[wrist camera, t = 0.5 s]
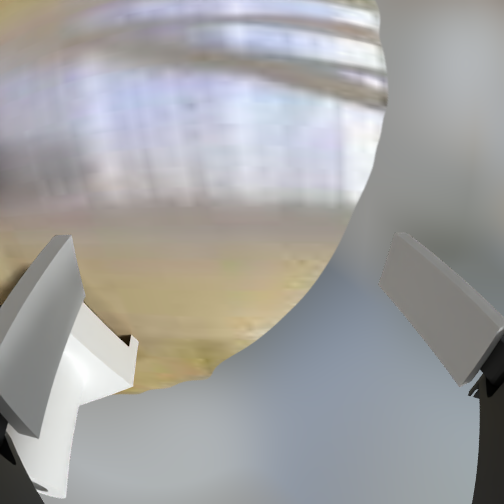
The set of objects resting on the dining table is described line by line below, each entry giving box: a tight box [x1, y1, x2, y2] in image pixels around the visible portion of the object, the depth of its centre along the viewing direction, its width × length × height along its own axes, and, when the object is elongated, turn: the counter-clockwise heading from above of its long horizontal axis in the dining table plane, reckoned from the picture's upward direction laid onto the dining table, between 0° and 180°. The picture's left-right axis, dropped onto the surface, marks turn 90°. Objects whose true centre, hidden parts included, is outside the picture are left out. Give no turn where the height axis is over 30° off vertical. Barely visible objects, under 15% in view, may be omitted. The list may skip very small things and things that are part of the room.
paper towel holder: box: [6, 302, 139, 498], centre depth 30 cm, size 19×19×30 cm
